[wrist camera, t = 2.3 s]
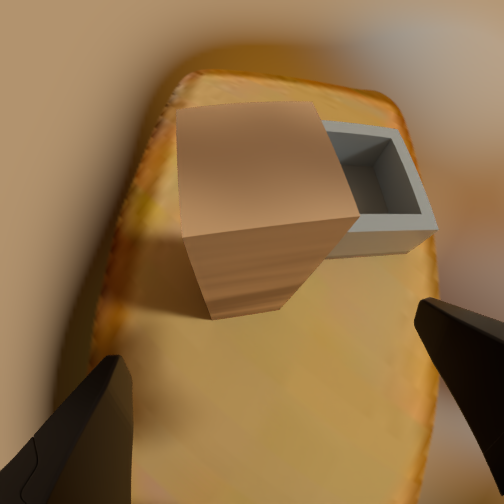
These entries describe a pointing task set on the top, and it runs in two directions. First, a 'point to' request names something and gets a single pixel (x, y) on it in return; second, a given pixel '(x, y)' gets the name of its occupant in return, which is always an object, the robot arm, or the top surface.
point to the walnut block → (258, 201)
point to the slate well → (380, 192)
